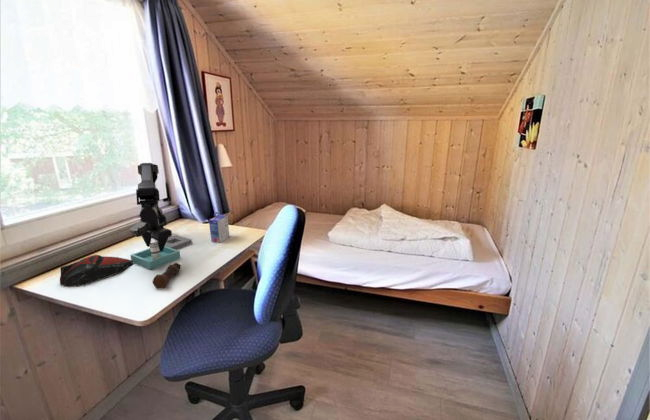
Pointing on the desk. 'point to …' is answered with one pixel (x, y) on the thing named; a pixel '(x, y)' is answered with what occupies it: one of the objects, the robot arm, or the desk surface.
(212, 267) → the desk surface
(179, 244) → the frame
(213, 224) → the ink cartridge box
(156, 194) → the robot arm
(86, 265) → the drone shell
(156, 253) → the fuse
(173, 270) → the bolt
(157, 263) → the parts tray
